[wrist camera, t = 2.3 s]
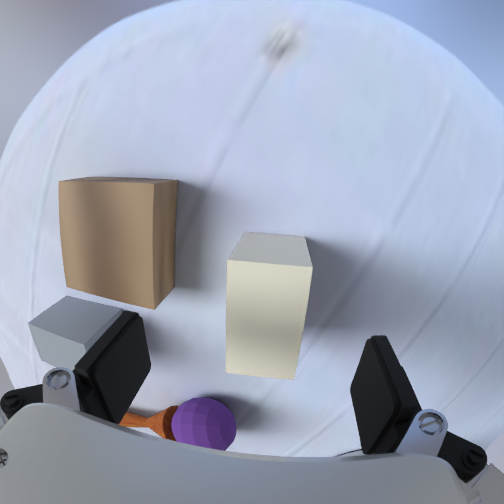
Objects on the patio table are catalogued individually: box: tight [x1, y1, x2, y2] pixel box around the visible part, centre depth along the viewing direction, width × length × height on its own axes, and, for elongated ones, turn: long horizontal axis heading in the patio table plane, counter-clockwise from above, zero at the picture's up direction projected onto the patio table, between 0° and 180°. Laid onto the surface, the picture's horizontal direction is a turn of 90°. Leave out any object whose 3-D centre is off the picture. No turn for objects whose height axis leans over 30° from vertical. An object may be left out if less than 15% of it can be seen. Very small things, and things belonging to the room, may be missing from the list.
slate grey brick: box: [28, 296, 122, 371], centre depth 20 cm, size 7×4×6 cm, turn 87°
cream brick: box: [226, 232, 313, 380], centre depth 17 cm, size 7×4×6 cm, turn 177°
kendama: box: [118, 398, 236, 451], centre depth 24 cm, size 6×6×20 cm
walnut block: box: [59, 177, 178, 310], centre depth 18 cm, size 8×8×4 cm
